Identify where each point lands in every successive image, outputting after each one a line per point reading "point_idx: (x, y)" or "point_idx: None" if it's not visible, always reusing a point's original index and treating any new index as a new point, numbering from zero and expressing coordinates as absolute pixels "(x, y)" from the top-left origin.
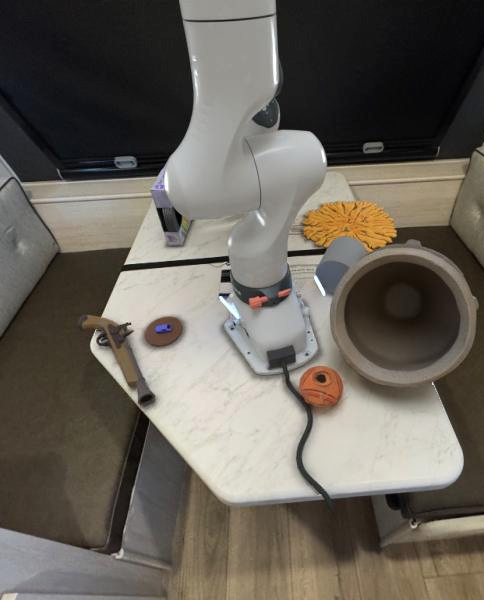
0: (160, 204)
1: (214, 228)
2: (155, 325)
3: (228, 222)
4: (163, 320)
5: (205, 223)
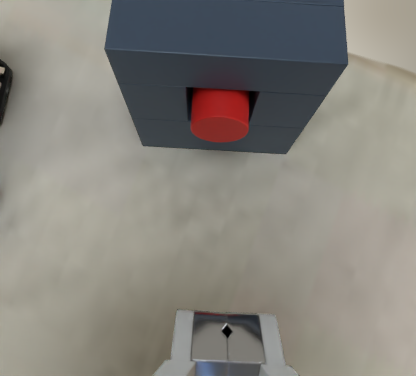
0: None
1: (19, 357)
2: None
3: (91, 339)
4: None
5: (4, 297)
